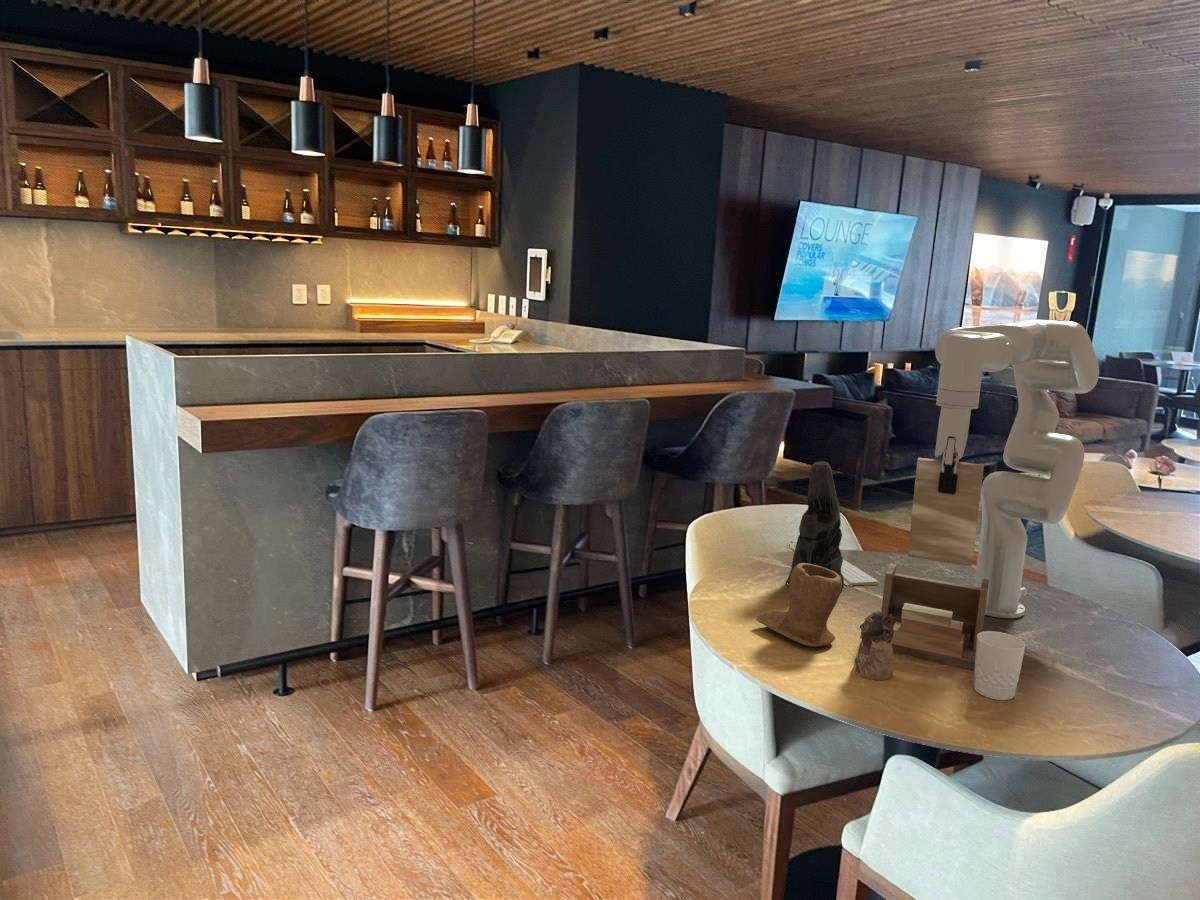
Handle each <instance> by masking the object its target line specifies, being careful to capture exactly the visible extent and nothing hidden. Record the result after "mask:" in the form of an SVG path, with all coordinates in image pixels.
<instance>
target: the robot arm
mask: <svg viewBox="0 0 1200 900" xmlns="http://www.w3.org/2000/svg"><path fill="white" fill-rule="evenodd" d="M934 354H935V355H934V356H935V358H936V360H937V362H938V363H939V364H940V368H939V377H938V384H937V385H938V387H937V395H936V403H935V404H936V406H938V407H940V415H939V420H938V427H937V435H936V444H935V448H934V449H935V450H934V456H935V458H939V457H940V456H942V459H941V460H942V468H941V472H940V477H939V486H938V492H939V493H946V494H955V493H956V486H957V477H958V474H956V473H957V464H958V462H960V459H962V457H963V456H964V453H965V449H966V446H967V441H968V435H969V430H970V429H969V428H970V421H971V413H972V410H976V409H979V404H980V403H979V402H980V396H981V386H982V385H981V384H982V377H983V372H988V373H995V372H996V373H997V372H1000V371H1003V370H1005V369H1006V368H1007V367H1008V366H1013V375H1014V376H1013V377H1014V384H1015V389H1016V393H1017V399H1018V409H1017V413H1016V416H1015V418H1014V419H1015V420H1014V422H1013V424H1012V427H1011V429H1010V432H1009V434H1008V438H1007V441H1006V444H1005V446H1004V448H1003V449H1004V451H1003V457H1002V458H1003V462H1004V464H1005V465H1006V466H1007V467H1008V468H1011V469H1013V470H1017V471H1020V472H1025V473H1028V474H1024V473H1020V472H1019V473H1018V472H1013V471H1006V470H1005V471H1002V470H1001V471H1000V470H999V471H994V472H991V473H989V474H988V475H987V476H986V477H985V478H984V480H982V486H981V495H980V499H981V510H982V514H981V515H982V516H981V518H982V519H981V526H980V527H981V529H980V535H979V545H978V551H977V559H976V567H975V568H976V569H975V575H974V584H973V587H979V588H981V585H982V579H988V580H989V585H988V592H987V600H986V608H985V615H984V616H988V617H994V618H999V619H1015V618H1016V619H1017V618H1021V617H1023V616H1025V613H1026V608H1025V606H1024V604H1022V603H1020V599H1021V597H1024V596H1027V595H1028V592H1029V591H1028V589H1027V588H1026V587H1024V586H1023V587H1022V580H1023V574H1024V573H1023V572H1024V567H1025V558H1026V553H1027V552H1026V551H1027V546H1028V545H1027V544H1028V533H1027V530H1026V527H1025V525H1024V524H1023V521H1022V520H1021V519H1023V520H1029V521H1031V522H1038V523H1042V524H1047V525H1054V524H1058V523H1060V522H1061V521H1062V520H1063V519H1064V518H1065V516H1066V513H1067V511H1068V509H1069V506H1070V503H1071V501H1072V498H1073V496H1074V492H1075V489H1076V486H1077V483H1078V481H1079V477H1080V475H1081V472H1082V469H1083V465H1084V461H1085V448H1084V444H1083V443H1082V441H1081V440H1080V439H1079V438H1077V437H1075V436H1072V435H1068V434H1063V433H1056V429H1057V425H1058V423H1059V420H1060V412H1059V410H1058V408H1057V406H1056V403H1055V402H1054V401H1053V399H1052V398H1051V396H1050V394H1049V393H1048V391H1053V392H1062V393H1070V394H1072V393H1073V394H1087V393H1089V392H1091V391H1092V390H1093V389H1094V388H1095V387H1096V385H1097V383H1098V381H1099V377H1100V376H1099V375H1100V366H1099V361H1098V358H1097V355H1096V351H1095V349H1094V346H1093V343H1092V340H1091V338H1090V335H1089V334H1088V331H1087V330H1086V328H1085V327H1084V326H1083V325H1082V324H1080V323H1078V322H1077V321H1066V320H1065V321H1063V320H1048V319H1029V320H1023V321H1019V322H1012V323H1001V324H999V323H998V324H990V325H980V326H979V325H978V326H963V327H956V328H950V329H947V330H945V331H944V332H943V333H941V335H940V336H939V337H938V339H937V340H936V343H935V347H934ZM954 462H955V463H954ZM1029 473H1030V474H1036V475H1040V476H1047V477H1049V478H1044V477H1039V476H1034V475H1030V474H1029Z"/></svg>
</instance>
